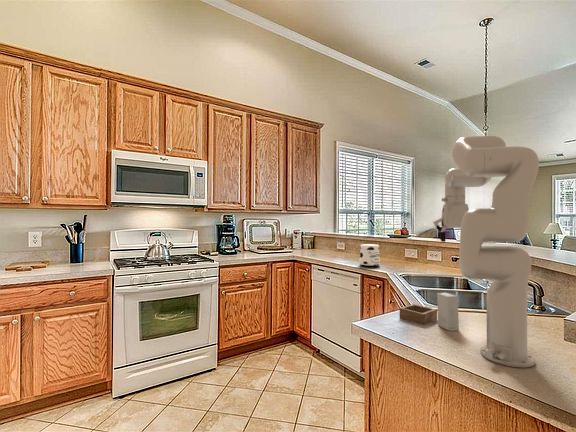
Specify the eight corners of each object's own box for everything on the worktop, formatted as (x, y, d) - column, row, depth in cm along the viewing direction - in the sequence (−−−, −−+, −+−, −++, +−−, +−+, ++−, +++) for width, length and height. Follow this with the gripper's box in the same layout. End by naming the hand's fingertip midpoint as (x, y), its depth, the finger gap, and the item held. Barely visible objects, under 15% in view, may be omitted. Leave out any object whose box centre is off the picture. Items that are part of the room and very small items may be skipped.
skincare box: (459, 330, 111) (459, 296, 111) (448, 331, 110) (448, 296, 111) (447, 324, 117) (447, 292, 117) (436, 325, 117) (436, 292, 117)
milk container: (378, 268, 253) (378, 246, 253) (357, 267, 260) (357, 245, 260) (381, 265, 269) (381, 244, 269) (361, 264, 276) (361, 243, 276)
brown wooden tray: (423, 325, 117) (423, 314, 117) (399, 318, 125) (399, 308, 125) (436, 319, 123) (436, 309, 123) (413, 313, 131) (413, 304, 131)
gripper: (436, 200, 130) (436, 242, 129) (481, 200, 127) (481, 242, 127) (430, 201, 137) (430, 240, 137) (472, 201, 135) (473, 241, 135)
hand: (455, 241), depth 132 cm, fingers open, 9 cm apart
